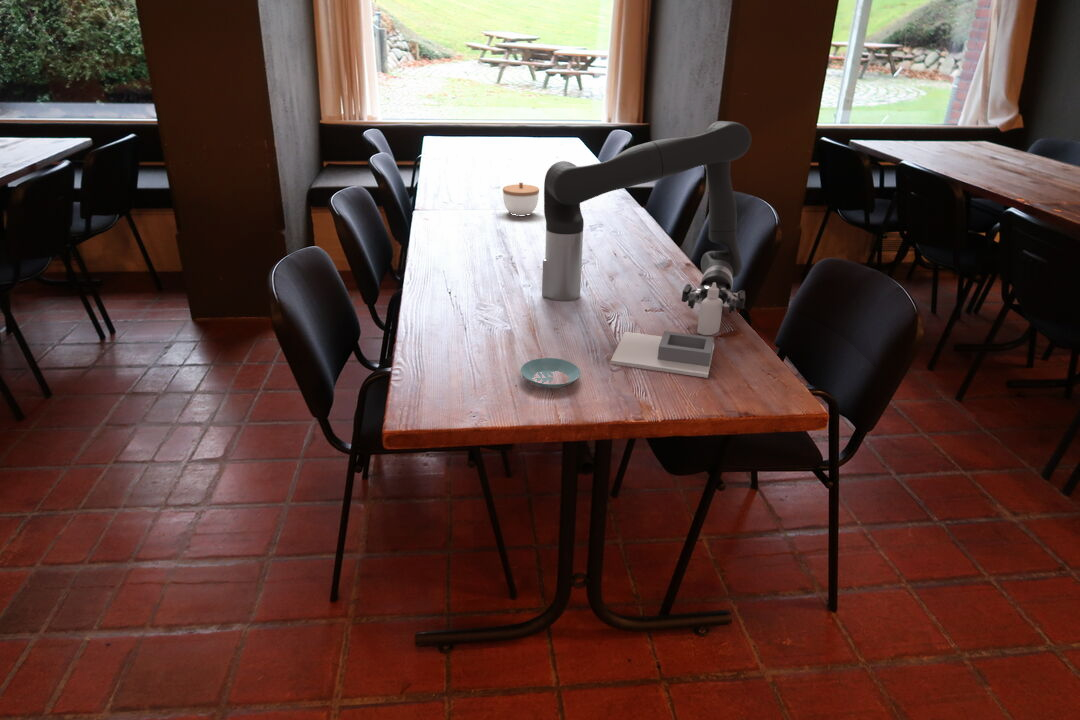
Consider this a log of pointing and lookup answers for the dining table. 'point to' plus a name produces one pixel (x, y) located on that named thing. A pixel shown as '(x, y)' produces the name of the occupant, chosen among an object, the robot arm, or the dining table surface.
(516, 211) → the lidded bowl
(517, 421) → the dining table surface
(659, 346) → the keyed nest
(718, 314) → the eye dropper bottle
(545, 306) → the dining table surface
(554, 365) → the saucer
